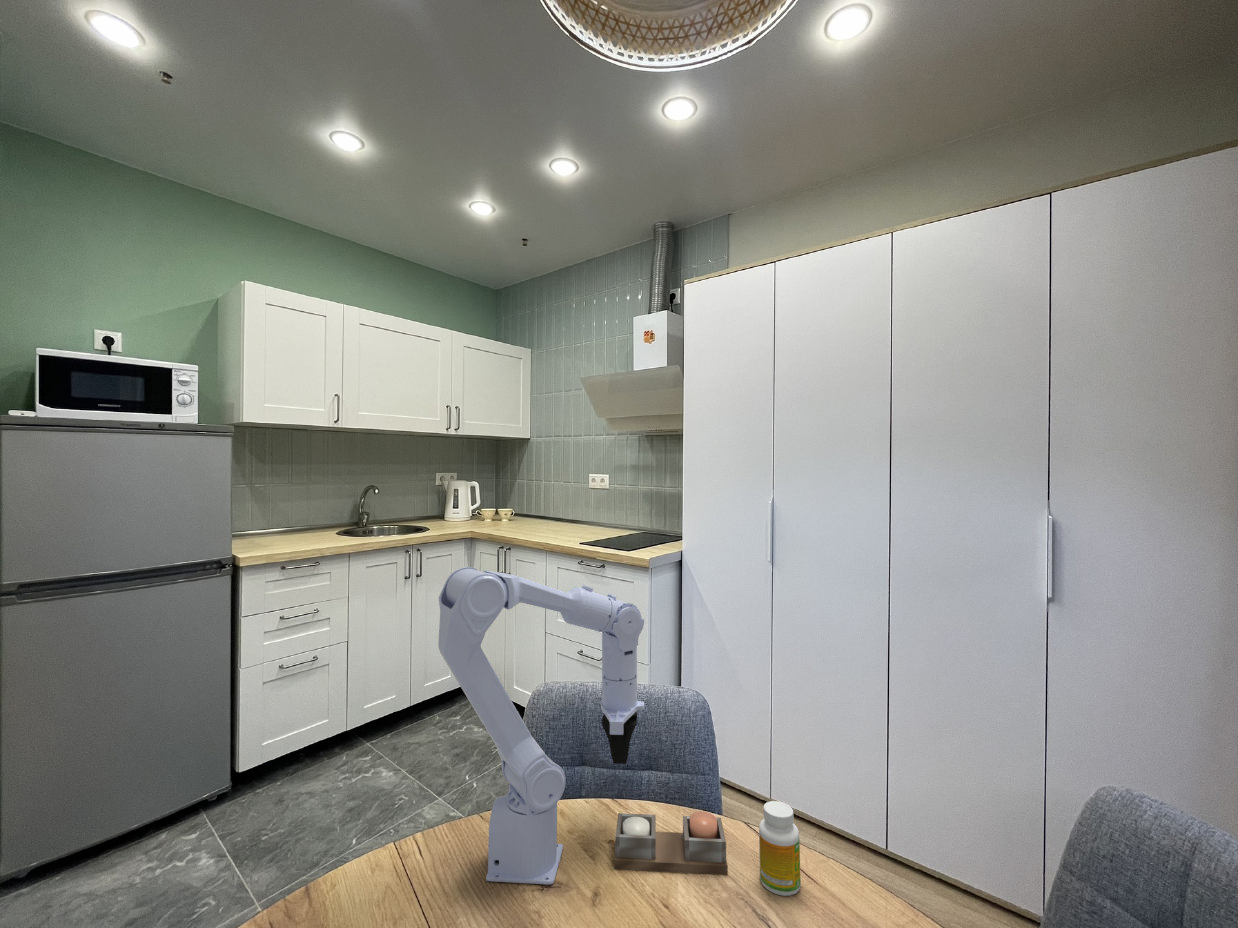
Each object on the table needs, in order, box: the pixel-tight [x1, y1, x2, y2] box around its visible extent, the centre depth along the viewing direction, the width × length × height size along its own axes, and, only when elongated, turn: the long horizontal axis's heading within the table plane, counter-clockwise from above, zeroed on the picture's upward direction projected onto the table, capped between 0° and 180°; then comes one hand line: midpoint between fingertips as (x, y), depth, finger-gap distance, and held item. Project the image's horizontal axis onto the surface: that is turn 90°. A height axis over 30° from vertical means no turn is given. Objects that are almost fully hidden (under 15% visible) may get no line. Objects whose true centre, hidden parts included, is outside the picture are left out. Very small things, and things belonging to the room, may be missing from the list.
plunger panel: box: [613, 812, 729, 876], centre depth 77 cm, size 16×7×4 cm, turn 86°
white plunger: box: [623, 817, 650, 836], centre depth 77 cm, size 4×4×2 cm
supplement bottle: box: [758, 800, 802, 897], centre depth 72 cm, size 5×5×10 cm
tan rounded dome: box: [690, 811, 718, 839], centre depth 77 cm, size 4×4×2 cm
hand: (619, 761), depth 84 cm, fingers closed
